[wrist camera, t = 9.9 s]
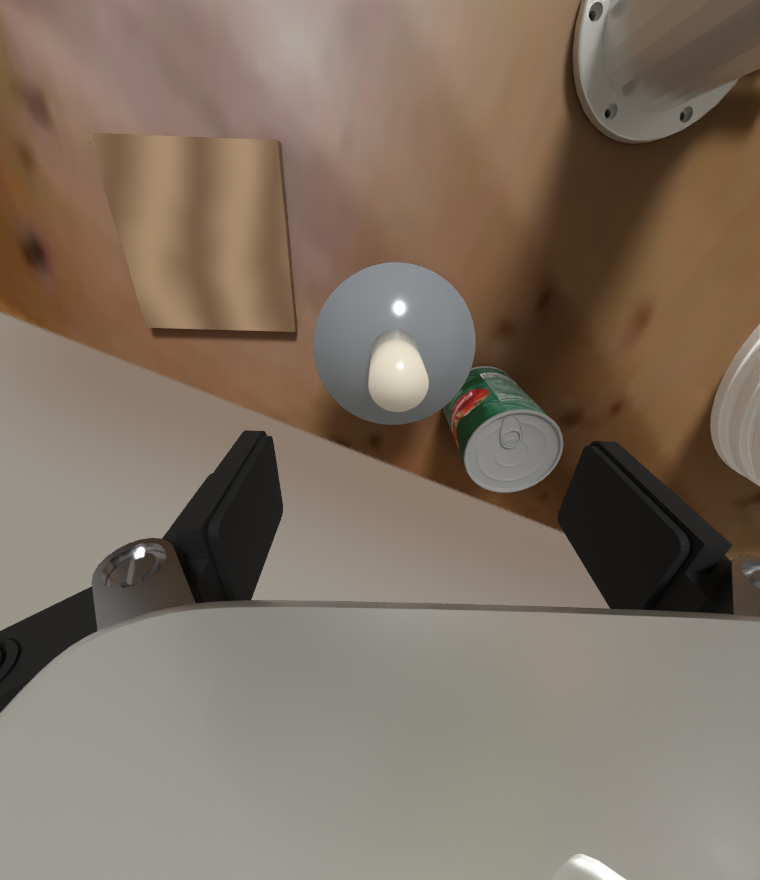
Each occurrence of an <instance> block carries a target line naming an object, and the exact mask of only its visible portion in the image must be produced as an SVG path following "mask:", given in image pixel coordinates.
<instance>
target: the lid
mask: <svg viewBox="0 0 760 880" xmlns="http://www.w3.org/2000/svg"><path fill="white" fill-rule="evenodd" d="M475 344H476V343H475V330H474V325H473V321H472V317H471V314H470V312H469V310H468V307H467V305H466V303H465V302H464V300H463V299H462V297H461V296H460V294H459V293H458V292H457V291H456V289H455V288H454V287H453V286H452V285H451V284H450V283H449V282H447V281H446V280H445V279H444V278H442V277H441V276H439V275H438V274H436V273H434V272H433V271H431V270H429V269H426V268H424V267H421V266H419V265H415V264H411V263H405V262H385V263H380V264H375V265H372V266H369V267H366V268H364V269H362V270H360V271H358V272H356V273H354V274H353V275H351V276H350V277H349V278H347V279H346V280H344V281H343V282H342V283H341V284H340V285H339V286H338V287H337V288H336V289H335V290H334V292H333V293H332V294H331V295H330V297H329V298H328V299H327V301H326V303H325V304H324V306H323V308H322V310H321V312H320V315H319V317H318V320H317V323H316V327H315V331H314V340H313V353H314V359H315V364H316V368H317V371H318V374H319V376H320V379H321V381H322V383H323V385H324V386H325V388H326V390H327V391H328V392H329V394H330V395H331V396H332V398H333V399H334V400H335V401H336V402H337V403H338V404H339V405H340V406H342V407H343V408H344V409H345V410H347V411H348V412H350V413H352V414H353V415H355V416H357V417H359V418H361V419H364V420H366V421H370V422H373V423H378V424H385V425H401V424H407V423H412V422H416V421H419V420H422V419H424V418H427V417H429V416H431V415H432V414H434V413H436V412H438V411H439V410H440V409H442V408H443V407H445V406H446V405H447V404H448V403H449V402H450V401H451V400H452V399H453V398H454V397H455V396H456V395H457V393H458V392H459V391H460V389H461V388H462V386H463V385H464V383H465V381H466V379H467V377H468V375H469V373H470V370H471V367H472V364H473V360H474V355H475Z"/></svg>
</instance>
